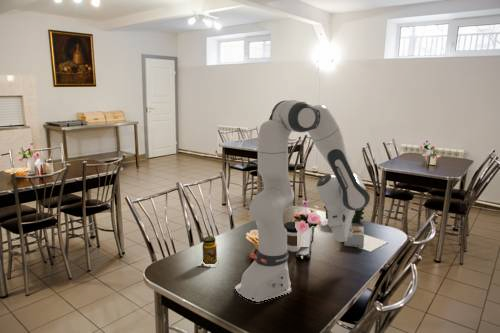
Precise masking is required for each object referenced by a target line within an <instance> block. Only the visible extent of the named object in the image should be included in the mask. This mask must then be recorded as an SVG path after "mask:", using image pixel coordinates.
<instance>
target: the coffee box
mask: <svg viewBox="0 0 500 333" xmlns="http://www.w3.org/2000/svg"><path fill="white" fill-rule="evenodd" d="M351 225H352V230H353V235H352V237H348V238H347V241H343V243H344V246H345V247H355V248H357V247H364V235H365V229H364V228H365V227H364V223H362V224H359V223H351Z"/></svg>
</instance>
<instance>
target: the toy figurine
mask: <svg viewBox="0 0 500 333" xmlns="http://www.w3.org/2000/svg"><path fill="white" fill-rule="evenodd" d="M323 208H324V210H325V219H326V220H328V214H327V212H328V211H327V209H326V207H325V205H324V206H323ZM364 210H365V208H363V209H361V210H356V211H354V214H353V218H352V222H351V223H359V224H363V222H361V220H364V216H363V215H365V212H364Z"/></svg>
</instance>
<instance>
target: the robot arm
mask: <svg viewBox="0 0 500 333" xmlns="http://www.w3.org/2000/svg"><path fill="white" fill-rule="evenodd" d="M271 110H272V111H271V114H270V116H269V118H268V120H267V121H265V122H262V124H261V125H260V126H259V130H258V138H257V171H258V174H259V175H260V176H261V179H262V184H263V190H261V191H260V192H259V193H257V194H256V195H255V196H254V197H253V199H252V200H251V201H250V203H249V207H248V209H249V210H248V211H249V214H250V216H251V218H252V219H253V220H254V221H255V224H256V226H257V227H256V228H257V238H258V239H257V240H258V246H257V247H258V248H257V249H256V253H255V252H250V254H249V258H250V259H253V262H252V263H251V264H250V265H249V266H248V268H246V270H245V271H244V272H243V273H242V276H241V281H240V283H238V284H237V285H235V286H234V290H235V289H236V291H237V292H238V293H239V294H241V295H242V296H243V297H245V298H247V299H250V300H252V301H256V302H260V301H264V300H268V299H271V298H274V299H276V298H275V297H277V298H279V297H278V296H280V297H282V296H281V295H283V296H285V295H288V294H291V293H292V287H291V284H292V282H291V280H290V273H289V272H290V271H289V266H288V260H289V250H288V249H287V230H286V228H285V227H284V224H285V223H284V220H283V218H284V217H283V216H284V213H285V212H286V211H287V210H288V209H289V208H291V205H292V204H293V202H294V199H295V192H294V189H293V187H292V185H291V181H290V176H289V146H288V145H289V143H288V141H289V139H290V138H289V137H290V135H291V133H292V132H297V133H306V132H307V133H308V134H309V136H310V138H311V140H312V142H313V144H314V146H315V147H316V149H317V150H318V151H319V153H320V154H321V156H322V157H323V158H324V160H325V161H326V163H327V164H328V166H330V168H331V169H332V172H333V174H332V173H331V174H330V173H329V174H324V175H323V176H321V178H319V179H318V181H317V182H316V189H317V193H318V195H319V198H320V199H321V202H323V204H324V206H325V207H326V209H327V211H328V212H327V214H328V219H327V226H328V227H330V229H331V231H332V234H333V236H334V237H335V239H336V241H338V242H339V243H341V242H343V243H344V241H347V238H348V237H352V235H353V230H352V225H351V222H352V218H353V216H354V214H355V211H356V210H361V209H363V208H364V209H365V208H366V207H367V206H368V205H369V203H370V201H371V196H370V194H369V192H368V190H367V188H366V186H365V184H364V182H363V180H362V177H361V176H360V175H359V174H358V173H356V172H353V170H352V168H351V166H350V163H349V161H348V155H347V151H346V147H345V146H346V145H345V141H344V138H343V133H342V131H341V129H340V126H339V124H338V122H337V121H336V119H335V117H334V115H333V114H332V112H331V111H330V109H328V107H327V106H325V105H324V104H315V105H312V104H311V103H309V102H306V101H299V100H294V99H291V100H281V101H279V102H277V103H276V104H275V105H274V106H273V108H272V109H271ZM236 291H235V292H236ZM290 292H291V293H290ZM287 293H288V294H287ZM284 294H285V295H284ZM252 298H254V299H252ZM271 300H272V299H271ZM268 301H269V300H268Z"/></svg>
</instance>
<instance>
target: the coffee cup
mask: <svg viewBox="0 0 500 333" xmlns="http://www.w3.org/2000/svg"><path fill="white" fill-rule="evenodd" d="M295 222H296V221H287V222H285V223H283V224H284V227H285V228H286V230H287V249H288V252H293V253H296V252H298V251H297V231H296V228H295Z"/></svg>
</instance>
